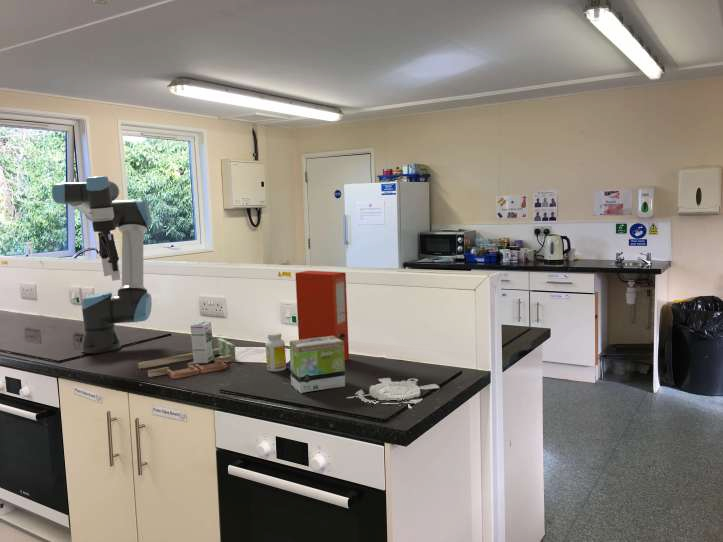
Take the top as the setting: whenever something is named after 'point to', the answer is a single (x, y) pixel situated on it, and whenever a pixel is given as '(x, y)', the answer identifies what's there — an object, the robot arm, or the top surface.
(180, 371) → the channel
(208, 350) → the syrup box
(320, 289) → the file binder
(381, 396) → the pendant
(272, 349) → the supplement bottle
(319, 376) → the tea box
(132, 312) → the robot arm
